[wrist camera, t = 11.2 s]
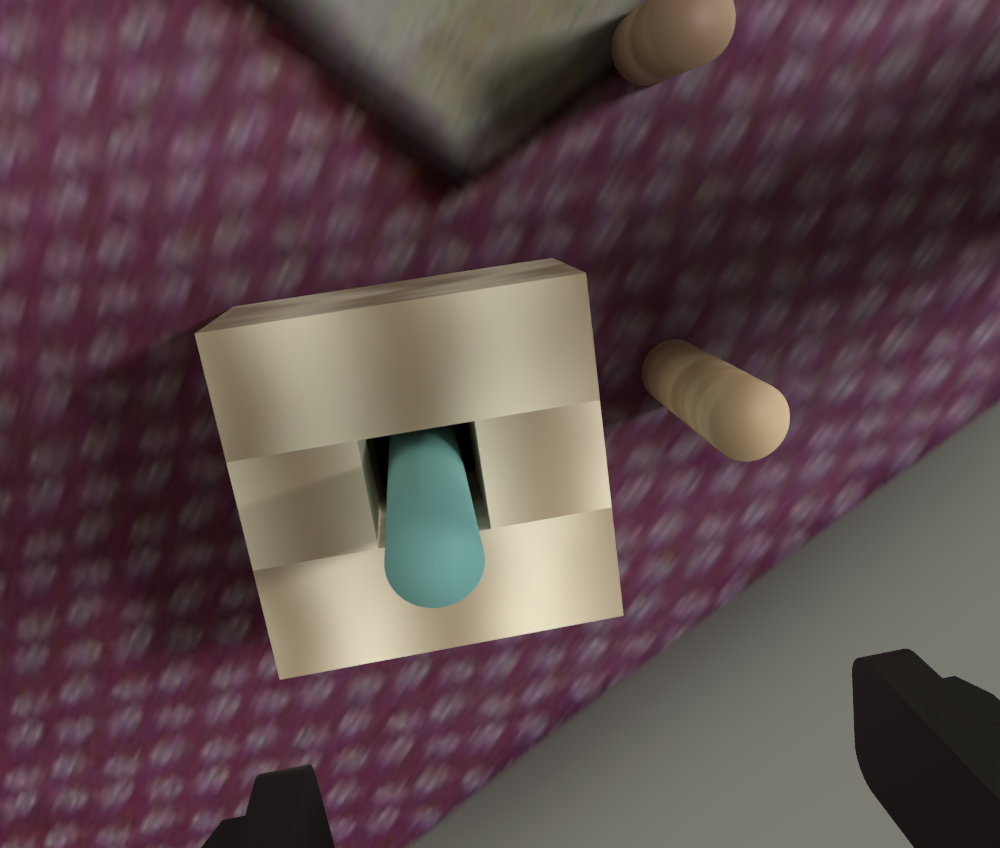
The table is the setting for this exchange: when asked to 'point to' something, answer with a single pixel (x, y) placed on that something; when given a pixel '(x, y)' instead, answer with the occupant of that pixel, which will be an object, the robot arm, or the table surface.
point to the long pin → (430, 520)
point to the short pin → (670, 38)
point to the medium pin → (717, 399)
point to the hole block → (405, 408)
